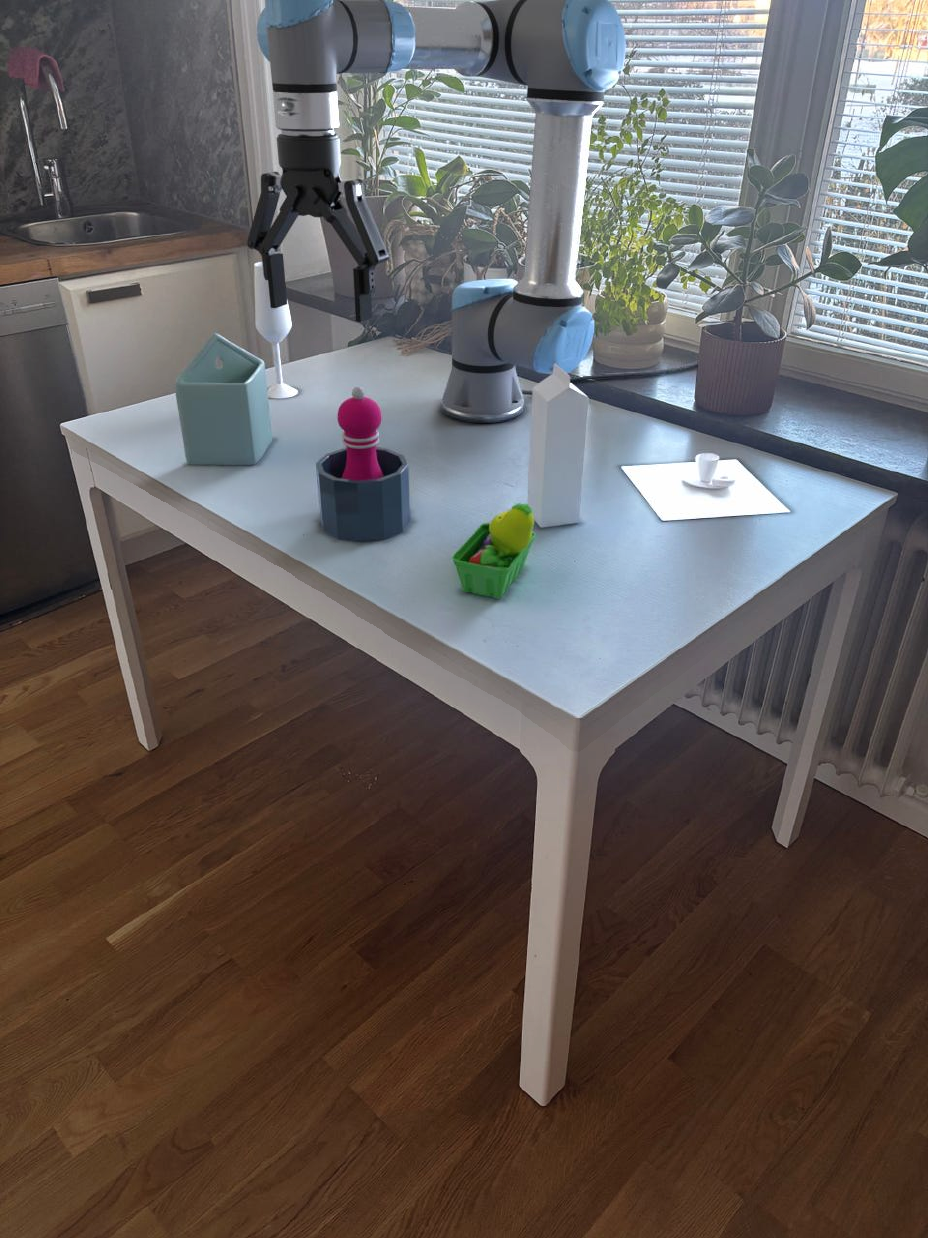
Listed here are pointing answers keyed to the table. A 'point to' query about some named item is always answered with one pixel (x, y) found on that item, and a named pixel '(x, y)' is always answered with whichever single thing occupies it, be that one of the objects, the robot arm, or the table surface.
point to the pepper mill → (360, 436)
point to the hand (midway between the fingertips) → (320, 312)
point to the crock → (363, 498)
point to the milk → (556, 450)
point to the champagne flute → (272, 329)
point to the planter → (224, 406)
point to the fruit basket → (496, 552)
